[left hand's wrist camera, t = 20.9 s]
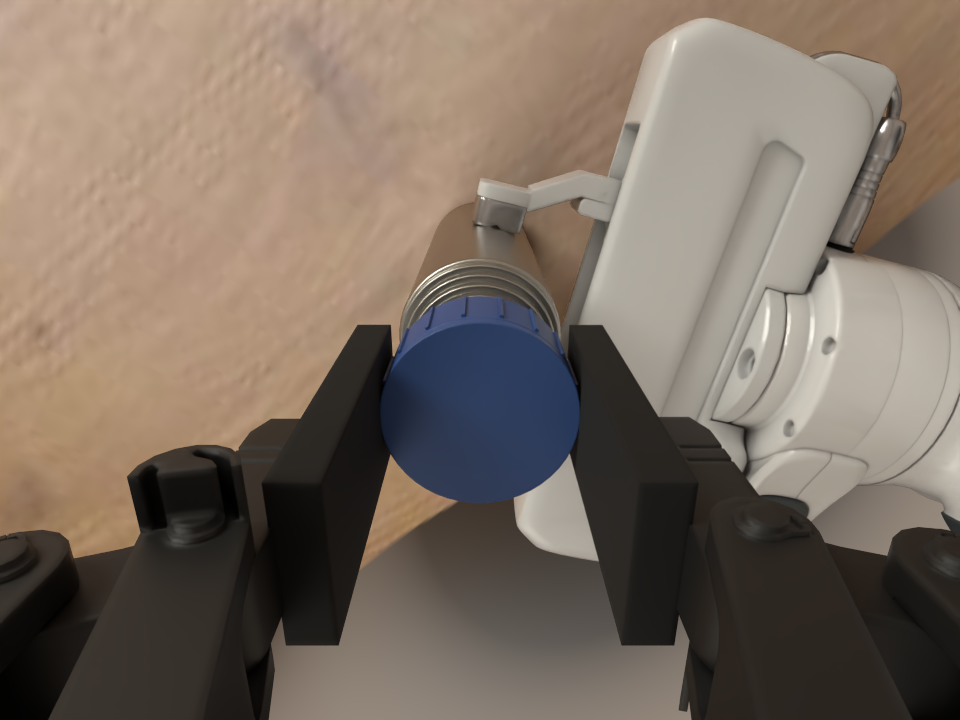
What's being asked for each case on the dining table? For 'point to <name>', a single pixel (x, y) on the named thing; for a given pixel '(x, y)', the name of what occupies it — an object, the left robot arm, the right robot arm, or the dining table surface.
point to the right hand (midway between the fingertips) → (456, 278)
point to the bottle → (478, 270)
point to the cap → (480, 401)
